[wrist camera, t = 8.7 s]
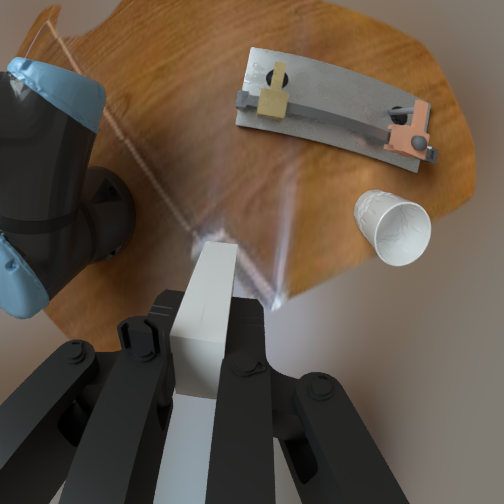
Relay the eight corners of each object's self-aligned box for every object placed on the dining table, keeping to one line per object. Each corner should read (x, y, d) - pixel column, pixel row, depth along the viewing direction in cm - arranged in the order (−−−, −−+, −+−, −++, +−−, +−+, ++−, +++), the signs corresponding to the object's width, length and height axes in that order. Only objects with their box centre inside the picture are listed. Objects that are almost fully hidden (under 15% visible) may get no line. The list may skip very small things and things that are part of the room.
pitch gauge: (236, 125, 33) (230, 122, 27) (251, 50, 29) (249, 33, 23) (412, 171, 34) (435, 179, 28) (425, 104, 30) (450, 102, 24)
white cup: (367, 174, 35) (398, 188, 26) (405, 202, 36) (441, 224, 27) (339, 221, 38) (361, 248, 29) (379, 245, 39) (407, 276, 30)
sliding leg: (374, 147, 32) (407, 152, 23) (383, 102, 29) (417, 95, 21) (393, 154, 32) (429, 161, 23) (402, 109, 29) (439, 106, 21)
